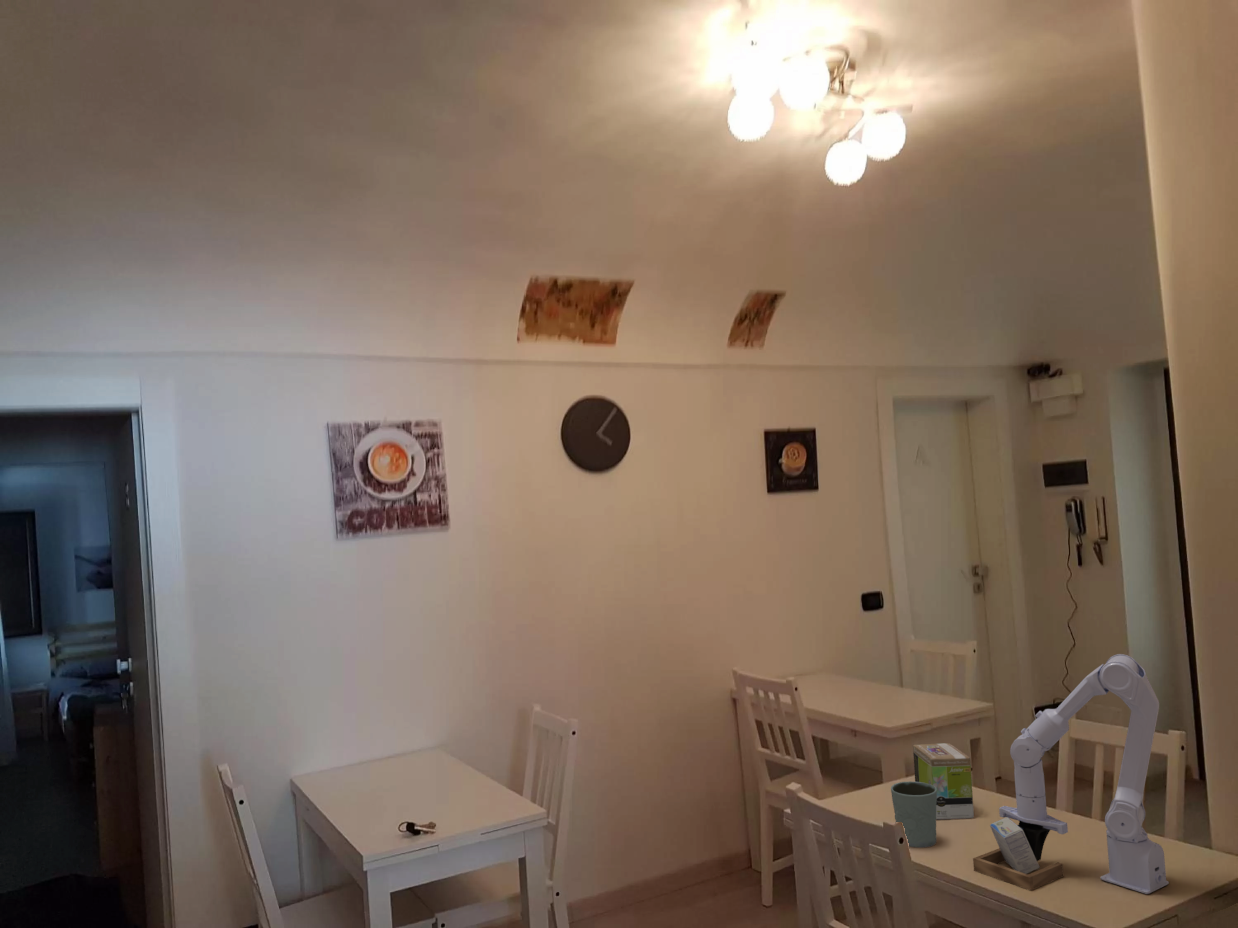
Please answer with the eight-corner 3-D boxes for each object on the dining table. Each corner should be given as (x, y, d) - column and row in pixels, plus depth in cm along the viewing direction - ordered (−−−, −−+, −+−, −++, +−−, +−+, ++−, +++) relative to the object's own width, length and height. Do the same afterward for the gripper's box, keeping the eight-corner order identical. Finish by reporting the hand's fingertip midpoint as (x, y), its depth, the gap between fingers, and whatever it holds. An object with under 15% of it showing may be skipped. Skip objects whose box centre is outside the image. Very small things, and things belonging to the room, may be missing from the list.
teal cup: (924, 830, 216) (920, 778, 217) (950, 845, 207) (946, 790, 207) (885, 836, 214) (882, 784, 214) (910, 851, 204) (906, 796, 205)
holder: (1063, 875, 187) (1062, 863, 187) (1030, 890, 181) (1029, 877, 181) (1006, 857, 198) (1005, 845, 198) (973, 870, 192) (973, 858, 192)
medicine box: (1040, 868, 188) (1023, 828, 188) (1020, 877, 188) (1003, 836, 188) (1024, 854, 196) (1008, 815, 196) (1005, 862, 196) (988, 823, 196)
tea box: (975, 818, 223) (971, 756, 224) (934, 820, 223) (929, 758, 224) (954, 799, 238) (950, 741, 239) (915, 801, 238) (911, 743, 239)
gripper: (1074, 797, 190) (1079, 864, 189) (1011, 782, 202) (1016, 845, 201) (1053, 804, 186) (1059, 873, 185) (991, 788, 198) (996, 852, 197)
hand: (1035, 859), depth 193 cm, fingers closed
